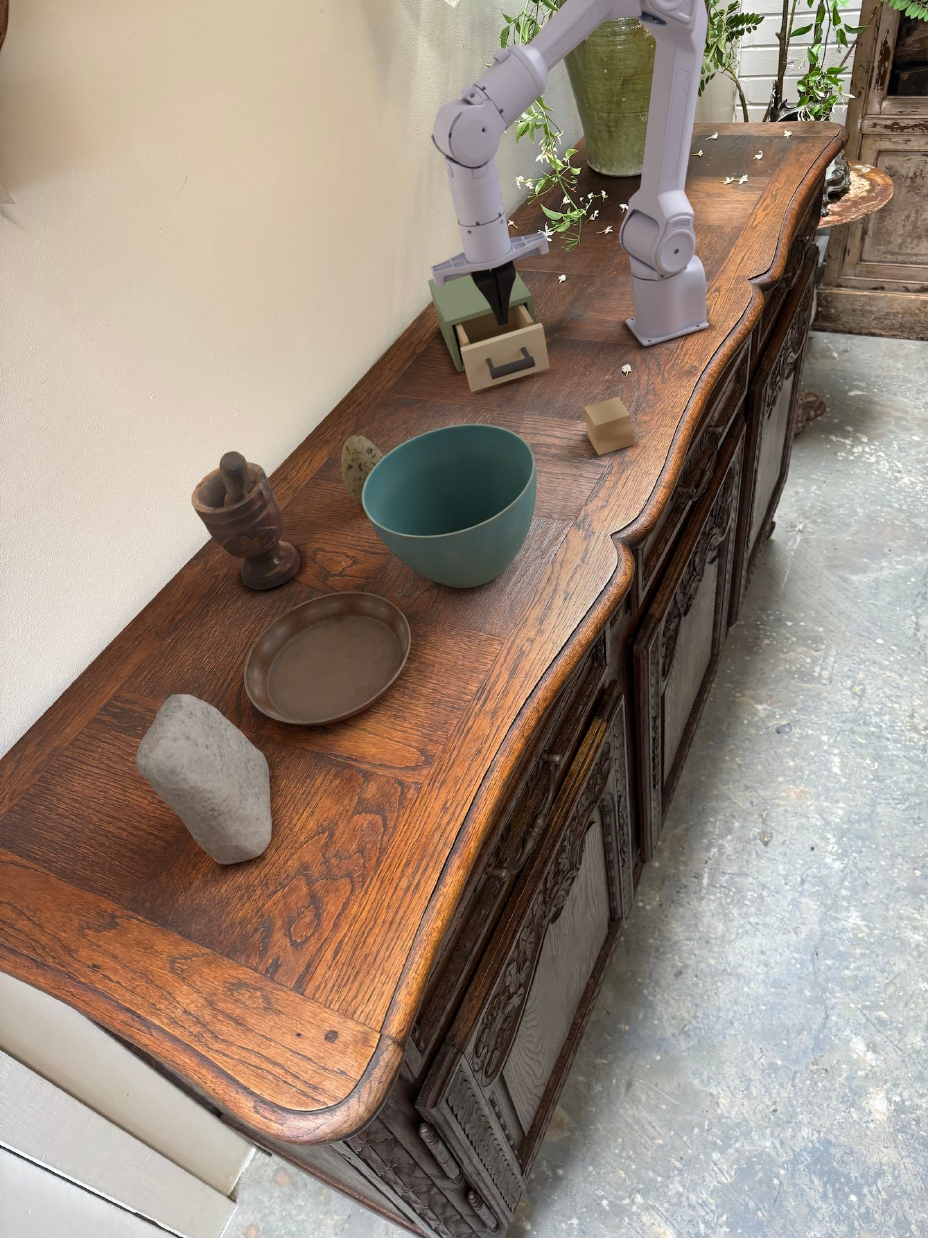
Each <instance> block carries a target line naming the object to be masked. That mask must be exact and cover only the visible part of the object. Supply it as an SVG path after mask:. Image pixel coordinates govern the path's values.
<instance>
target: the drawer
mask: <svg viewBox="0 0 928 1238" xmlns="http://www.w3.org/2000/svg"><path fill="white" fill-rule="evenodd" d="M508 322H509V323H507V324H504V325H501V326H498V324H497V322H496V321H495V317H494V314H493V313H490V314H487V315H483V316H480V317H477V318H474V319H470V320H467V321H464V322H461V323H458V324H454V325H452V326H453V330H454V334H455V338H456V342H457V346H458V348H459V350H460V353H461V355H462V358H463V362H464V366H465V373H466V377H467V382H468V386H469V390H470V392H471V393H474V392H477V391H480V390H483V389H486V388H489V387H492V386H496V385H499V384H502V383H505V382H509V381H511V380H515V379H519V378H522V377H525V376H527V375H531V374H535V373H537V372H540V371H544V370H548V369H550V362H549V355H548V350H547V343H546V342H547V341H546V337H545V335H546V334H545V329H544V326H543V324H542V322H539V323H536V324H535V325H534V322H533V320H532V318H531V317H530V315H529V313H528V311H527V310H526V308H525V306H524V305H523V303H522V304H519V305H515V306H512V307H509V310H508Z"/></svg>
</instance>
